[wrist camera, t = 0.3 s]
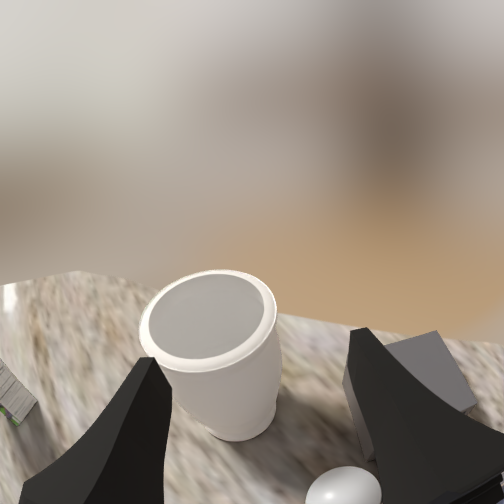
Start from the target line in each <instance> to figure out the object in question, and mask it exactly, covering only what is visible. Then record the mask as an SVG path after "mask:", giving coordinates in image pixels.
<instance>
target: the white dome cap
mask: <svg viewBox="0 0 504 504" xmlns="http://www.w3.org/2000/svg"><path fill="white" fill-rule="evenodd" d="M380 502H381V488H380V485H379V483H378V481H377V479H376V478H375V477H374V476H373V475H372V474H371V473H369V472H368V471H366V470H364V469H361V468H358V467H353V466H344V467H338V468H334V469H331V470H329V471H327V472H325V473H323V474H322V475H320V476H319V477H318V478H317V479H316V480H315V481H314V482H313V484H312V485H311V487H310V488H309V490H308V493H307V497H306V501H305V504H380Z"/></svg>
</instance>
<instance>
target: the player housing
mask: <svg viewBox="0 0 504 504" xmlns="http://www.w3.org/2000/svg"><path fill="white" fill-rule="evenodd" d="M384 347H385V348H386V349H387V350H388V351H389V352H390V353H391V354H392V355H393V356H394V357H395V358H396V359H397V360H398V361H399V362H400V363H401V364H402V365H403V366H404V367H405V368H406V369H407V370H408V371H409V372H410V373H411V374H412V375H413V376H414V377H415V378H417V379H418V380H419V381H420V382H421V383H422V384H423V385H424V386H426V387H427V388H428V389H429V390H431V391H432V392H433V393H434V394H436V395H437V396H438V397H440V398H441V399H442V400H444V401H445V402H446V403H448V404H449V405H451V406H452V407H454V408H455V409H457V410H458V411H460V412H462V413H463V414H465V415H467V414H468V413H469V412H470V411H471V410H472V409H473V408H474V406H475V405H476V404H477V403H478V402H477V400H476V398H475V396H474V394H473V393H472V391H471V389H470V387H469V385H468V383H467V381H466V379H465V378H464V376H463V374H462V372H461V370H460V369H459V367H458V365H457V363H456V362H455V360H454V358H453V357H452V355H451V353H450V351H449V350H448V348H447V346H446V345H445V343H444V342H443V340H442V338H441V337H440V335H439V334H438V332H437V330H436V331H432V332H429V333H426V334H423V335H419V336H416V337H413V338H409V339H406V340H402V341H399V342H395V343H391V344H388V345H384ZM347 362H348V356H347V361H346V367H345V372H344V377H343V382H342V384H343V387H344V391H345V394H346V397H347V400H348V404H349V407H350V410H351V414H352V417H353V420H354V424H355V427H356V430H357V434H358V437H359V441H360V444H361V448H362V451H363V455H364V459H365V462H367V461H371V460H374V459H376V457H375V453H374V448H373V444H372V441H371V438H370V435H369V432H368V429H367V426H366V424H365V421H364V418H363V415H362V413H361V410H360V407H359V405H358V402H357V399H356V397H355V394H354V391H353V388H352V384H351V380H350V376H349V372H348V368H347Z"/></svg>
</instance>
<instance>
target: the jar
mask: <svg viewBox="0 0 504 504" xmlns="http://www.w3.org/2000/svg"><path fill="white" fill-rule="evenodd" d="M276 323H277V308H276V302H275V299H274V296H273V294H272V292H271V291H270V289H269V288H268V287H267V286H266V285H265V284H264V283H263V282H262V281H261V280H259V279H258V278H256V277H254V276H252V275H249V274H247V273H243V272H239V271H234V270H209V271H203V272H198V273H195V274H191V275H188V276H186V277H183V278H181V279H179V280H177V281H175V282H173V283H171V284H169V285H168V286H166V287H165V288H164V289H162V290H161V291H160V292H158V293H157V294H156V295H155V296H154V297H153V298H152V299H151V301H150V302H149V303H148V305H147V306H146V308H145V309H144V311H143V313H142V315H141V318H140V322H139V329H138V333H139V339H140V343H141V345H142V347H143V349H144V351H145V352H146V354H147V355H148V357H155V359H156V361H157V363H158V364H159V366H160V368H161V370H162V372H163V373H164V375H165V377H166V378H167V380H168V382H169V384H170V385H171V387H172V397H173V398H174V399H175V401H176V402H177V403H178V404H179V405H180V406H181V407H182V408H183V409H184V410H185V411H186V412H187V413H189V414H190V415H191V416H192V417H193V418H194V419H196V420H197V421H198V422H199V423H201V424H202V425H203V426H204V427H205V428H206V429H207V431H208V432H210V433H211V434H212V435H214V436H215V437H217V438H219V439H222V440H226V441H245V440H248V439H251V438H254V437H256V436H257V435H259V434H261V433H262V432H263V431H264V430H265V429H266V428H267V427H268V426H269V425H270V423H271V422H272V420H273V418H274V415H275V412H276V399H277V395H278V390H279V385H280V380H281V374H282V353H281V346H280V341H279V337H278V334H277V331H276Z"/></svg>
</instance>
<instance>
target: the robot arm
mask: <svg viewBox="0 0 504 504" xmlns="http://www.w3.org/2000/svg"><path fill="white" fill-rule="evenodd" d="M347 368H348V372H349V376H350V380H351V384H352V388H353V391H354V394H355V397H356V399H357V402H358V405H359V407H360V410H361V413H362V415H363V418H364V421H365V424H366V426H367V429H368V432H369V435H370V438H371V441H372V444H373V448H374V453H375V457H376V462H377V467H378V472H379V478H380V483H381V490H382V497H383V504H504V485H503V486H502V487H501V484H500V483H501V482H502V481H503V476H502V474H501V473H503V472H504V433H501V432H499V431H496V430H494V429H491V428H489V427H487V426H485V425H483V424H481V423H479V422H477V421H475V420H474V419H472V418H470V417H469V416H467V415H465V414H463V413H462V412H460V411H458V410H457V409H455V408H454V407H452V406H451V405H449V404H448V403H446V402H445V401H444V400H442V399H441V398H440V397H438V396H437V395H436V394H434V393H433V392H432V391H431V390H429V389H428V388H427V387H426V386H424V385H423V384H422V383H421V382H420V381H419V380H418V379H417V378H415V377H414V376H413V375H412V374H411V373H410V372H409V371H408V370H407V369H406V368H405V367H404V366H403V365H402V364H401V363H400V362H399V361H398V360H397V359H396V358H395V357H394V356H393V355H392V354H391V353H390V352H389V351H388V350H387V349H386V348H385V347H384V346H383V344H382V343H381V342H380V341H379V340H378V339H377V338H376V337H375V335H374V334H373V333H372V332H371V331H370V330H369V329H368V328H367V327H365V328H361V329H356V330H352V331H350V342H349V352H348V362H347ZM171 412H172V387H171V385H170V384H169V382H168V380H167V378H166V377H165V375H164V373H163V372H162V370H161V368H160V366H159V364H158V363H157V361H156V359H155V357H142V358H139V360H138V361H137V363H136V364H135V366H134V367H133V368H132V370H131V371H130V373H129V374H128V376H127V377H126V379H125V380H124V382H123V383H122V385H121V386H120V388H119V389H118V391H117V392H116V394H115V395H114V397H113V398H112V399H111V401H110V402H109V404H108V405H107V406H106V408H105V409H104V410H103V412H102V413H101V414H100V416H99V417H98V418H97V420H96V421H95V422H94V423H93V425H92V426H91V427H90V428H89V429H88V430H87V431H86V433H85V434H84V435H83V436H82V437H81V438H80V439H79V440H78V441H77V442H76V443H75V444H74V445H73V446H72V447H71V448H70V449H69V450H68V451H67V452H66V453H64V454H63V455H62V456H61V457H60V458H59V459H57V460H56V461H55V462H54V463H52V464H51V465H50V466H48V467H47V468H46V469H44V470H43V471H41V472H40V473H38V474H37V475H35V476H33V477H32V478H30V479H29V480H27V481H25V482H24V484H23V488H22V491H21V495H20V500H19V504H164V487H163V479H164V458H165V452H166V445H167V438H168V432H169V426H170V419H171Z"/></svg>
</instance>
